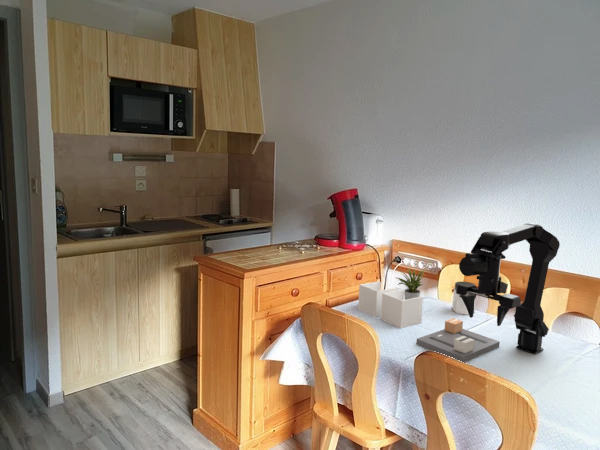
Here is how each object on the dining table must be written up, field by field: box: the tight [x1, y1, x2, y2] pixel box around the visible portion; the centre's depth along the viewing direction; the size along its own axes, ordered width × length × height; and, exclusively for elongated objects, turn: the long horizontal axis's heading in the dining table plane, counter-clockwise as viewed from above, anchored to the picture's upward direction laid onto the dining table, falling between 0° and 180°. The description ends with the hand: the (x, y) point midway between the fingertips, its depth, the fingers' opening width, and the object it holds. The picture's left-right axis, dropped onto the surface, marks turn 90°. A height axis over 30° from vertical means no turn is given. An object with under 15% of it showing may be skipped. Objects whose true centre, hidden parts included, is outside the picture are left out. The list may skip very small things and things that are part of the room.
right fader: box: [444, 318, 464, 334], centre depth 168 cm, size 4×5×4 cm
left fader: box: [454, 336, 474, 353], centre depth 151 cm, size 4×5×4 cm
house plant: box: [394, 267, 427, 300], centre depth 204 cm, size 14×14×16 cm
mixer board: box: [416, 328, 501, 363], centre depth 160 cm, size 18×22×2 cm
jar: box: [451, 281, 477, 316], centre depth 196 cm, size 9×8×12 cm
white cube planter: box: [357, 281, 424, 329], centre depth 188 cm, size 25×11×11 cm, turn 33°
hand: (484, 321), depth 146 cm, fingers open, 9 cm apart
